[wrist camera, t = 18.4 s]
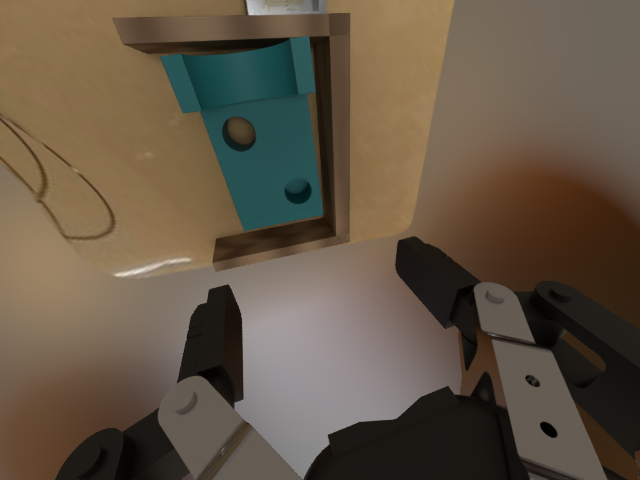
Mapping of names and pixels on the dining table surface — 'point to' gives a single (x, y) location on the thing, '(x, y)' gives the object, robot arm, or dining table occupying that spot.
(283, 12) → the tray
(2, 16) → the dining table surface
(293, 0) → the key block
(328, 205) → the bracket
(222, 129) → the teal l-shaped bracket
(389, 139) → the dining table surface
